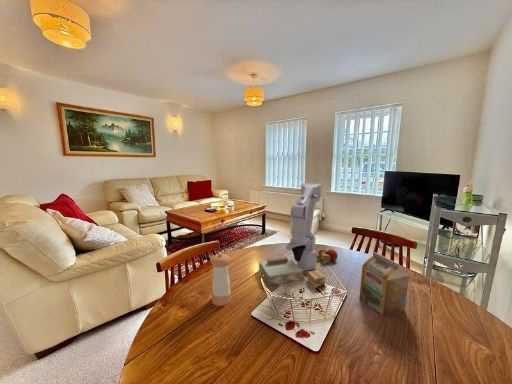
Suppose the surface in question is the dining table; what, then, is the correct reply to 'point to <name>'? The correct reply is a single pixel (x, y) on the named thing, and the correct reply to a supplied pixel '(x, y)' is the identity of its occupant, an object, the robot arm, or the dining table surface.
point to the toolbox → (280, 278)
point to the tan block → (316, 278)
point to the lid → (279, 267)
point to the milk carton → (383, 285)
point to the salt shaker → (221, 280)
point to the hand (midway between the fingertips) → (297, 260)
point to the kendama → (327, 255)
